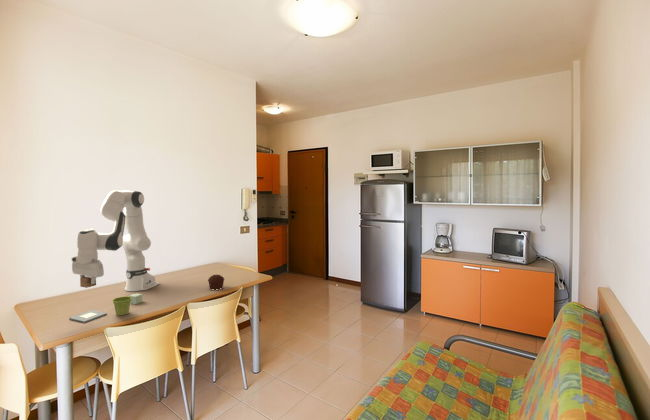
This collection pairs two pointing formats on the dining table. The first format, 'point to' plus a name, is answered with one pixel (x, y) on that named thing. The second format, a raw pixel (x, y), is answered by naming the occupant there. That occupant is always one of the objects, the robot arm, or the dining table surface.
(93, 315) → the pad
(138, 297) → the block
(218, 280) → the muffin
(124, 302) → the plant pot
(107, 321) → the dining table surface
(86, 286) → the block
